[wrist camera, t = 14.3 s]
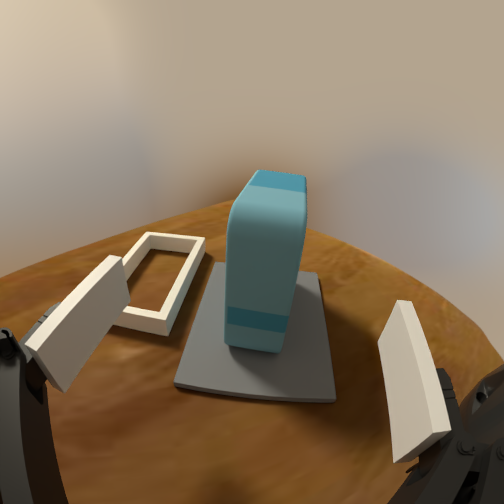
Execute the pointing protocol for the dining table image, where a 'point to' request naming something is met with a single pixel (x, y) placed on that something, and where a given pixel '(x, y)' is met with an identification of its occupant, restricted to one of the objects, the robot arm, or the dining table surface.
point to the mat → (259, 362)
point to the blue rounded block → (263, 259)
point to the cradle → (167, 315)
